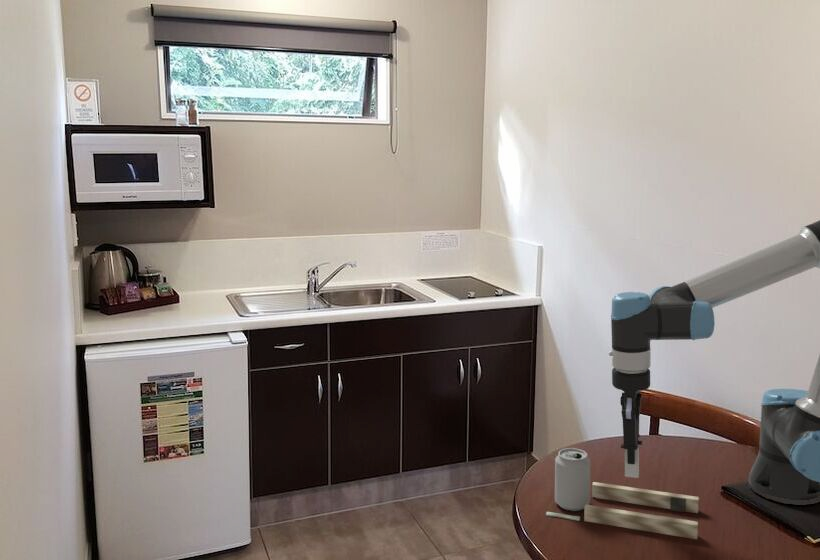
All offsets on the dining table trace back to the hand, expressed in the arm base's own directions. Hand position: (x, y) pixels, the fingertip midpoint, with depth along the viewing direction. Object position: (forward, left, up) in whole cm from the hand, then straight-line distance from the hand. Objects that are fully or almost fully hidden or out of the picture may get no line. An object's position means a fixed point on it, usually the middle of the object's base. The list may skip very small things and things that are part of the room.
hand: (631, 475), depth 153 cm
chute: (+2, 0, -9) cm, 9 cm away
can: (+12, 0, -9) cm, 15 cm away
